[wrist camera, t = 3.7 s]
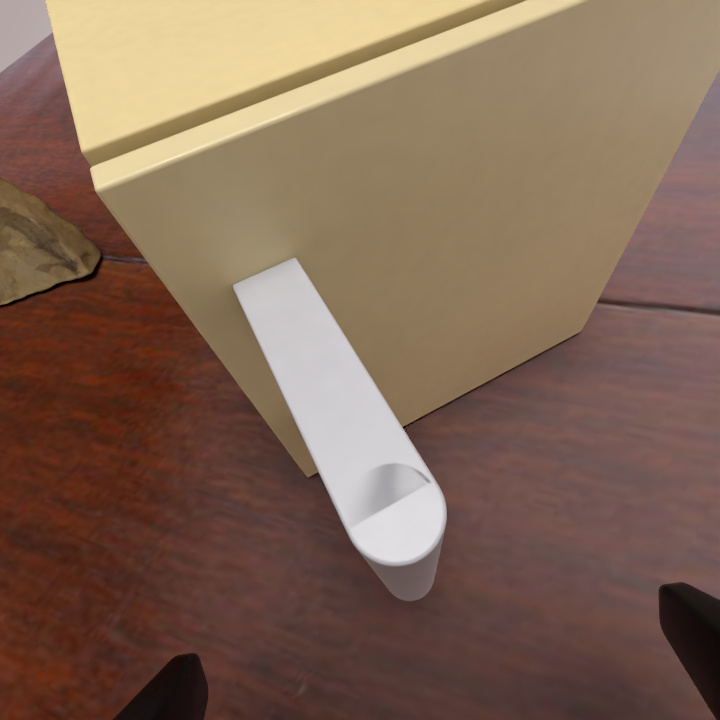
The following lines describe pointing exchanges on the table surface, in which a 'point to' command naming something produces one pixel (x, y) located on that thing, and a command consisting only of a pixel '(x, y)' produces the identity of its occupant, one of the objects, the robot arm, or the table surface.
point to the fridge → (219, 56)
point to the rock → (38, 246)
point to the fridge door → (416, 231)
